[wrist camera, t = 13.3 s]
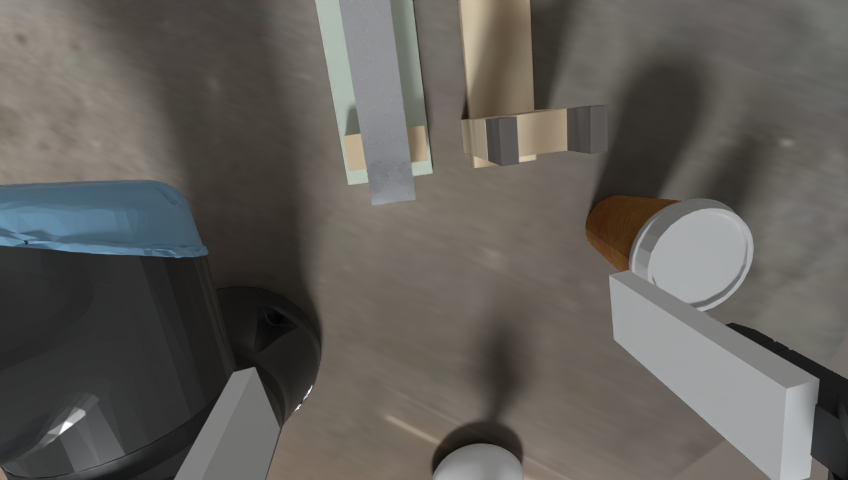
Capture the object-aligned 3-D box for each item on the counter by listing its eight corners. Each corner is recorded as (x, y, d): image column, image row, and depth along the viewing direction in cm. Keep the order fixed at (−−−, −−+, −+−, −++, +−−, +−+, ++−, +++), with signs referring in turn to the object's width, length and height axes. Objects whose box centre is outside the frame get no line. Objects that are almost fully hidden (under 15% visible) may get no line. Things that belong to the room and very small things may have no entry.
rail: (373, 196, 36) (372, 205, 32) (320, -132, 29) (310, -171, 25) (412, 191, 36) (415, 199, 32) (368, -136, 29) (366, -175, 25)
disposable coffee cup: (555, 210, 41) (623, 245, 30) (638, 161, 41) (739, 177, 29) (591, 282, 44) (666, 339, 32) (669, 237, 43) (773, 279, 32)
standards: (465, 167, 39) (502, 188, 27) (440, -105, 32) (474, -236, 21) (539, 157, 39) (607, 173, 27) (529, -113, 33) (613, -246, 21)
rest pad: (348, 184, 38) (346, 189, 35) (299, -91, 32) (291, -112, 29) (431, 172, 39) (435, 176, 36) (399, -101, 32) (401, -123, 29)
